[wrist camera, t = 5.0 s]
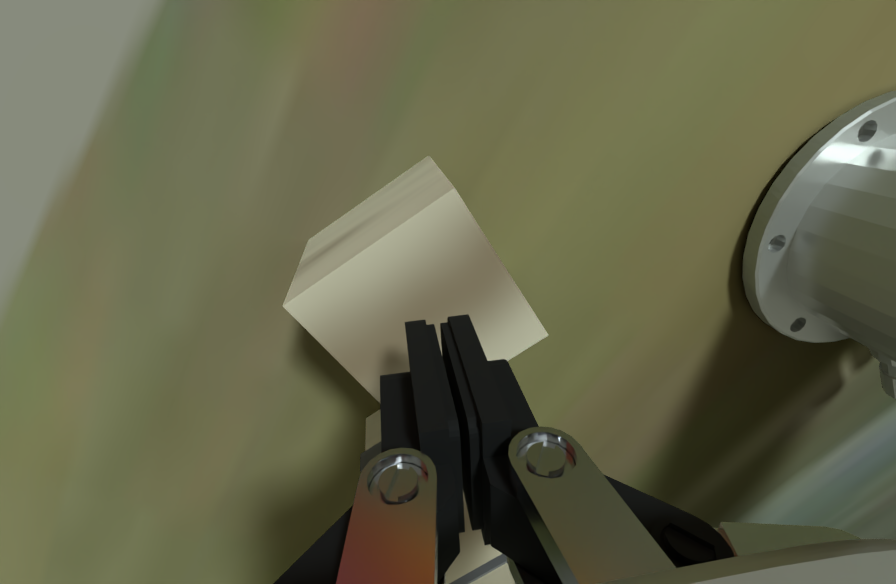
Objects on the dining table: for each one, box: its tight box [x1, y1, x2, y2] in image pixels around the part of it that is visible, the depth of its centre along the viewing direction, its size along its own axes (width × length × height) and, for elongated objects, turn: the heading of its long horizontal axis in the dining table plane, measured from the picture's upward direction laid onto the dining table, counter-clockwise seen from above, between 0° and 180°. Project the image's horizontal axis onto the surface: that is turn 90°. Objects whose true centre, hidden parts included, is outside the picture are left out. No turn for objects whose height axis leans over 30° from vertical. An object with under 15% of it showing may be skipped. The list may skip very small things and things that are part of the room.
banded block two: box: [449, 554, 515, 584], centre depth 25 cm, size 6×6×6 cm
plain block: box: [283, 155, 548, 403], centre depth 16 cm, size 6×6×6 cm
